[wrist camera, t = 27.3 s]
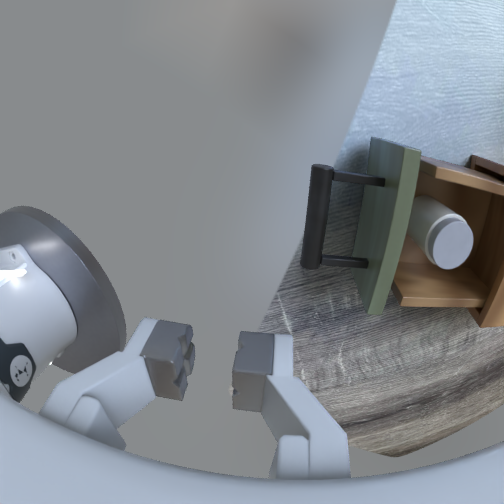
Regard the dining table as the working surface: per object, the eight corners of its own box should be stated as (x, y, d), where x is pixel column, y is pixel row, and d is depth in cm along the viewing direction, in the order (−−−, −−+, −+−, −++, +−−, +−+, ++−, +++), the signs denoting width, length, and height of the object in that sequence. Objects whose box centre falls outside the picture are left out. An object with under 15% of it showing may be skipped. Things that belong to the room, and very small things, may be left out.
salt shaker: (397, 237, 22) (423, 270, 17) (407, 191, 20) (439, 214, 15) (435, 242, 22) (465, 273, 17) (446, 198, 20) (481, 222, 15)
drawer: (294, 262, 25) (297, 311, 19) (308, 127, 20) (320, 132, 14) (465, 275, 24) (497, 315, 18) (494, 168, 19) (541, 189, 13)
